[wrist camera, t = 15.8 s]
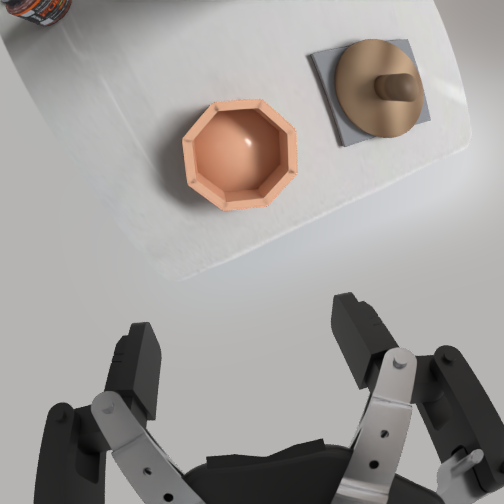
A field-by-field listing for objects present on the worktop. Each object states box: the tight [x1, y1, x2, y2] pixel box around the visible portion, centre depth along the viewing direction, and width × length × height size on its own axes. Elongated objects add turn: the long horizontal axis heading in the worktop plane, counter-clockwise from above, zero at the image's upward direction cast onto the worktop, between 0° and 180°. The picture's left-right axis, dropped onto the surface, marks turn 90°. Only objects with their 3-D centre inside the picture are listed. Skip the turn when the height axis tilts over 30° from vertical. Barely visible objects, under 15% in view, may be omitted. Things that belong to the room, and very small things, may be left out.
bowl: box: [182, 99, 297, 211], centre depth 31 cm, size 12×12×5 cm
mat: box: [311, 39, 431, 147], centre depth 31 cm, size 16×13×1 cm
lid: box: [334, 39, 423, 138], centre depth 28 cm, size 14×14×6 cm
